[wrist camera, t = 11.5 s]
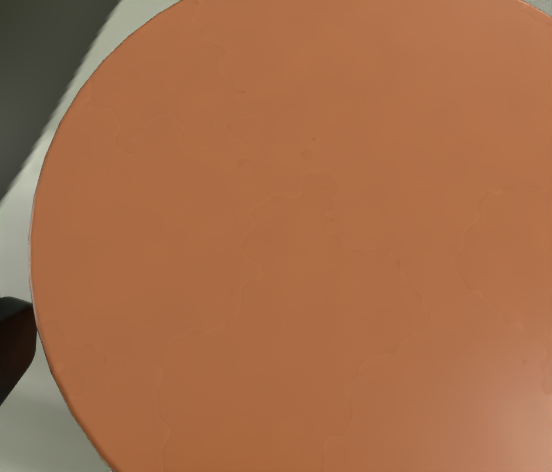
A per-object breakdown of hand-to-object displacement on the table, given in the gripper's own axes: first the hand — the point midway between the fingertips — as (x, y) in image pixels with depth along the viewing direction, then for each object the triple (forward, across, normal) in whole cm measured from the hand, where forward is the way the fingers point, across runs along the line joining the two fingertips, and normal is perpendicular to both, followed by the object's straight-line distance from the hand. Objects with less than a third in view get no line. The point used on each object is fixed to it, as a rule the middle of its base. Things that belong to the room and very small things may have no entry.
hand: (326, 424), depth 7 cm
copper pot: (+9, 0, +5) cm, 10 cm away
